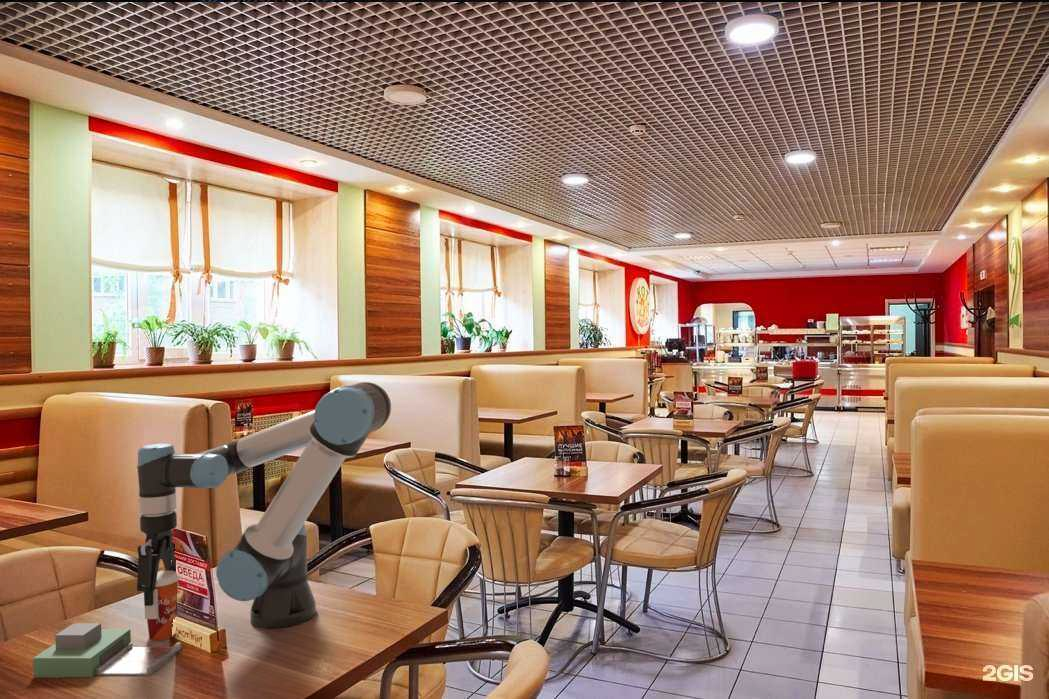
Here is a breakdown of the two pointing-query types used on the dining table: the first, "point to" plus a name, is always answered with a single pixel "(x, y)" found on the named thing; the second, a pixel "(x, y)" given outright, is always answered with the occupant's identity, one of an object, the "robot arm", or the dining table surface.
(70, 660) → the stepped green box
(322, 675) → the dining table surface
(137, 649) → the plate
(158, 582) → the paper cup
